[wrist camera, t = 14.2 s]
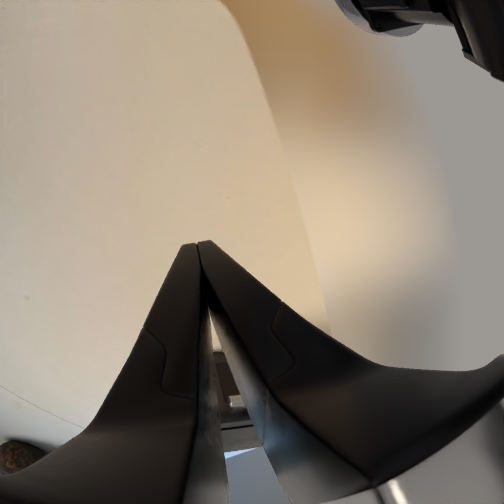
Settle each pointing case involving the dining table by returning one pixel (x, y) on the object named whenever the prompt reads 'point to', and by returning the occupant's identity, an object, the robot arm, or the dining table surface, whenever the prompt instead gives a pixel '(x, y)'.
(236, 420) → the oven door
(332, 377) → the robot arm
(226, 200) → the dining table surface
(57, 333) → the dining table surface
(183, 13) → the dining table surface
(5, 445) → the glass bottle
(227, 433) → the oven
